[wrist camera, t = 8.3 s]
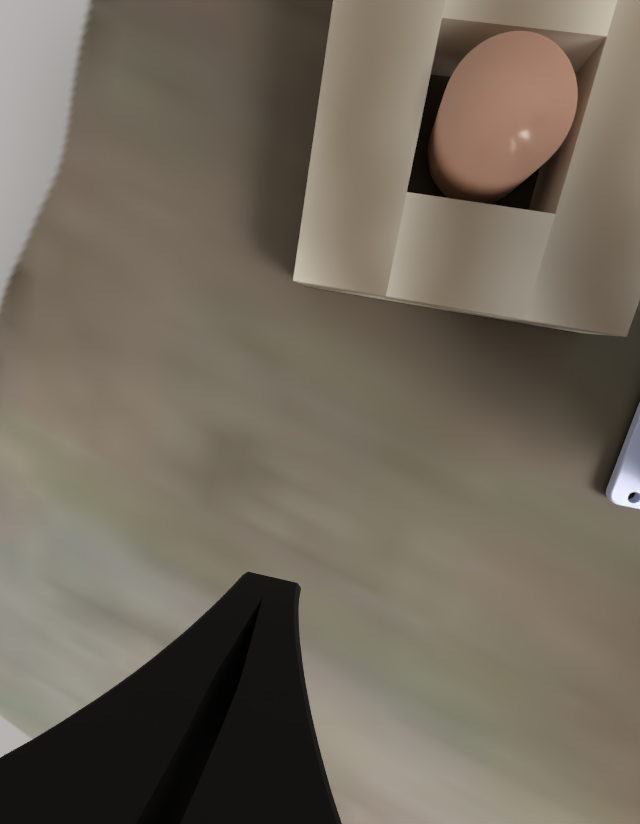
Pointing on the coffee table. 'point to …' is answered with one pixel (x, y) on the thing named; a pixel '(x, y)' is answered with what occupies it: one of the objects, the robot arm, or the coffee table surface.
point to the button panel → (465, 220)
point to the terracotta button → (501, 116)
